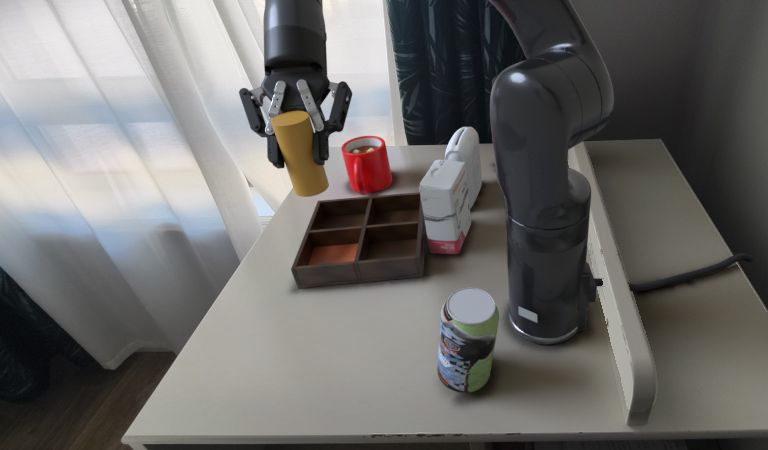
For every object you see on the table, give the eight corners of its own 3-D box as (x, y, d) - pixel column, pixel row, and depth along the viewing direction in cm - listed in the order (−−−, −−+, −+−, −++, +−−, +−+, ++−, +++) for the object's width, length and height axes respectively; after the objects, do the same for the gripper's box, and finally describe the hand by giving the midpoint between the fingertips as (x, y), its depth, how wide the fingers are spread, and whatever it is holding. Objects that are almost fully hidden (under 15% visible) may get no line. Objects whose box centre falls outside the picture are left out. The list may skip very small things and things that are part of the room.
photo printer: (462, 181, 92) (456, 119, 85) (484, 182, 92) (480, 120, 84) (447, 211, 84) (439, 146, 77) (471, 213, 83) (465, 147, 76)
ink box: (458, 256, 74) (450, 189, 67) (427, 253, 75) (416, 187, 68) (472, 223, 81) (466, 159, 74) (444, 221, 82) (435, 157, 75)
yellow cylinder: (331, 178, 67) (312, 109, 61) (325, 195, 64) (304, 124, 58) (299, 181, 67) (276, 112, 61) (291, 198, 63) (266, 126, 58)
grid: (426, 209, 85) (424, 191, 83) (423, 277, 71) (419, 257, 68) (323, 218, 84) (317, 200, 82) (297, 288, 70) (290, 269, 68)
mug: (343, 206, 87) (332, 167, 82) (353, 173, 97) (344, 137, 92) (388, 203, 87) (380, 164, 83) (394, 170, 97) (387, 133, 92)
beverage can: (442, 354, 59) (430, 280, 52) (503, 354, 59) (499, 279, 52) (435, 400, 54) (420, 324, 47) (502, 400, 53) (497, 323, 46)
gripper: (224, 26, 60) (225, 161, 57) (342, 19, 61) (348, 151, 58) (252, 57, 67) (254, 177, 64) (357, 50, 68) (363, 169, 65)
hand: (299, 164), depth 61 cm, fingers closed on yellow cylinder, 4 cm apart
